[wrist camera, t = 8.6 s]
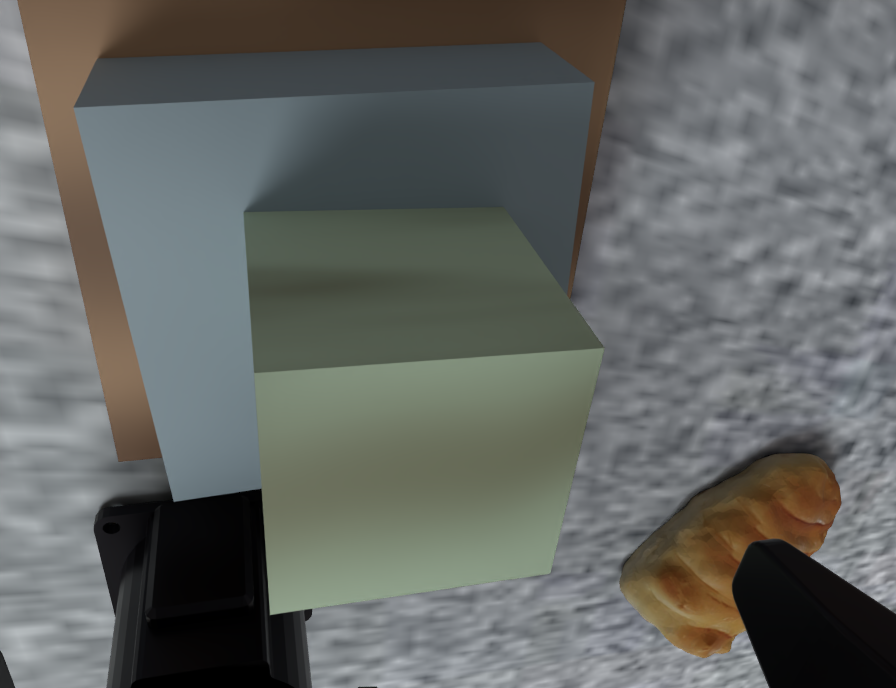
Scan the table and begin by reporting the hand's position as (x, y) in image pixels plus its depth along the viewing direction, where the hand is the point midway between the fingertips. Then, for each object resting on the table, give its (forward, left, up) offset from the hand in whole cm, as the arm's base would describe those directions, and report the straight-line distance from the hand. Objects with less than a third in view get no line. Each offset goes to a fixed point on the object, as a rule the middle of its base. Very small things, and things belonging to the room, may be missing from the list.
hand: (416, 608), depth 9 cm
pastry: (-16, -16, -14) cm, 27 cm away
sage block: (-1, -1, -8) cm, 8 cm away
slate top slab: (-1, 0, -11) cm, 11 cm away
